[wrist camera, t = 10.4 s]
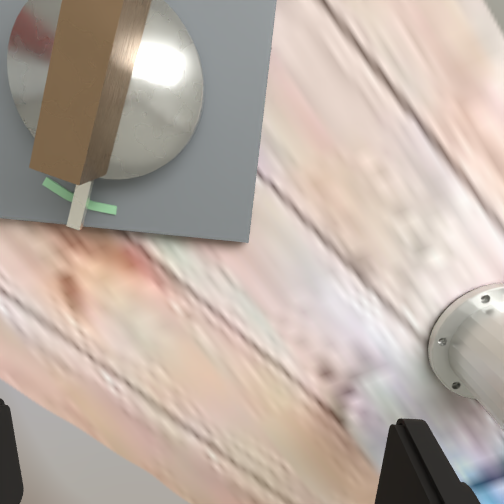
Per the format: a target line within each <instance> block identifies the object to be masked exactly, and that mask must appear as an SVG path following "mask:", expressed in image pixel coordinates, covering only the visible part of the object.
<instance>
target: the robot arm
mask: <svg viewBox="0 0 504 504" xmlns="http://www.w3.org/2000/svg"><path fill="white" fill-rule="evenodd" d="M428 355H429V361H430V365H431V368H432V370H433V371H434V373H435V374H436V376H437V377H438V379H439V380H440V381H441V382H442V383H443V385H444V386H445V387H447V388H448V389H449V390H450V391H452V392H454V393H456V394H458V395H460V396H463V397H467V398H470V399H477V400H478V402H479V403H480V404H481V405H482V406H483V407H484V409H485V410H486V411H487V412H488V413H489V415H490V416H491V417H492V418H493V419H494V420H495V422H496V423H497V424H498V425H499V426H500V427H501V429H502V430H503V431H504V283H494V284H490V285H486V286H482V287H479V288H477V289H475V290H473V291H470V292H468V293H467V294H465V295H463V296H462V297H460V298H459V299H457V300H456V301H455V302H454V303H452V304H451V305H450V306H449V307H448V308H447V309H446V310H445V311H444V313H443V314H442V315H441V316H440V317H439V319H438V321H437V322H436V324H435V326H434V328H433V330H432V333H431V336H430V339H429V346H428ZM22 496H23V482H22V477H21V470H20V465H19V459H18V453H17V447H16V441H15V435H14V429H13V424H12V417H11V412H10V408H9V406H8V405H5V404H4V401H3V400H2V399H0V504H19V503H20V502H21V499H22ZM375 504H480V502H479V500H478V498H477V497H476V495H475V493H474V492H473V491H472V489H471V488H470V487H469V486H468V485H467V484H466V483H464V482H460V480H459V478H458V477H457V475H456V473H455V472H454V470H453V468H452V466H451V465H450V463H449V461H448V459H447V458H446V456H445V454H444V452H443V451H442V449H441V447H440V446H439V444H438V442H437V440H436V439H435V437H434V435H433V433H432V432H431V430H430V428H429V426H428V425H427V423H426V422H425V421H424V420H420V419H398V421H397V423H396V425H393V424H392V425H391V426H390V428H389V433H388V438H387V443H386V448H385V453H384V458H383V463H382V469H381V474H380V479H379V484H378V489H377V494H376V499H375Z"/></svg>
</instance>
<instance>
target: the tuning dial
mask: <svg viewBox="0 0 504 504" xmlns="http://www.w3.org/2000/svg"><path fill="white" fill-rule="evenodd" d="M7 73H8V80H9V86H10V90H11V93H12V97H13V100H14V103H15V105H16V108H17V110H18V113H19V114H20V116H21V118H22V120H23V122H24V124H25V125H26V127H27V128H28V130H29V131H30V133H31V134H32V135H33V137H34V138H35V140H34V145H33V150H32V155H31V160H30V165H29V168H31V169H34V170H36V171H39V172H42V173H45V174H48V175H51V176H53V177H56V178H59V179H62V180H65V181H68V182H70V183H73V184H76V188H75V192H74V196H73V200H72V204H71V209H70V213H69V217H68V221H67V226H68V227H71V228H74V229H76V230H81V229H82V228H83V224H84V220H85V216H86V212H87V208H88V204H89V200H90V196H91V192H92V188H93V184H94V179H97V178H104V179H118V180H120V179H130V178H135V177H139V176H143V175H145V174H148V173H151V172H153V171H155V170H157V169H158V168H160V167H162V166H164V165H165V164H167V163H169V162H170V161H171V160H172V159H174V158H175V157H176V156H177V155H178V154H179V153H180V152H181V151H182V150H183V149H184V148H185V147H186V145H187V144H188V143H189V141H190V140H191V138H192V136H193V135H194V133H195V131H196V129H197V126H198V124H199V121H200V118H201V114H202V110H203V104H204V96H205V84H204V75H203V69H202V65H201V61H200V57H199V54H198V52H197V49H196V46H195V44H194V42H193V40H192V38H191V36H190V34H189V33H188V31H187V29H186V28H185V26H184V24H183V23H182V22H181V20H180V19H179V17H178V16H177V14H176V13H175V12H174V11H173V10H172V8H171V7H170V6H169V5H168V4H167V3H166V2H165V1H164V0H28V1H27V2H26V4H25V5H24V6H23V8H22V9H21V11H20V13H19V15H18V16H17V18H16V21H15V23H14V26H13V28H12V31H11V35H10V39H9V43H8V52H7Z"/></svg>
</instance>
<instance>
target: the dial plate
mask: <svg viewBox="0 0 504 504" xmlns="http://www.w3.org/2000/svg"><path fill="white" fill-rule="evenodd" d="M27 1H28V0H0V218H5V219H15V220H25V221H35V222H45V223H55V224H65V225H67V221H68V217H69V213H70V209H71V204H72V200H73V196H74V192H75V188H76V184H73V183H70V182H68V181H65V180H62V179H59V178H56V177H53V176H51V175H48V174H45V173H42V172H39V171H36V170H34V169H31V168H29V165H30V160H31V155H32V150H33V145H34V140H35V138H34V137H33V135H32V134H31V133H30V131H29V130H28V128H27V127H26V125H25V124H24V122H23V120H22V118H21V116H20V114H19V113H18V110H17V108H16V105H15V103H14V100H13V97H12V93H11V90H10V86H9V80H8V73H7V52H8V43H9V39H10V35H11V31H12V28H13V26H14V23H15V21H16V18H17V16H18V15H19V13H20V11H21V9H22V8H23V6H24V5H25V4H26V2H27ZM164 1H165V2H166V3H167V4H168V5H169V6H170V7H171V8H172V10H173V11H174V12H175V13H176V14H177V16H178V17H179V19H180V20H181V22H182V23H183V24H184V26H185V28H186V29H187V31H188V33H189V34H190V36H191V38H192V40H193V42H194V44H195V46H196V49H197V52H198V54H199V57H200V61H201V65H202V69H203V75H204V84H205V96H204V104H203V110H202V114H201V118H200V121H199V124H198V126H197V129H196V131H195V133H194V135H193V136H192V138H191V140H190V141H189V143H188V144H187V145H186V147H185V148H184V149H183V150H182V151H181V152H180V153H179V154H178V155H177V156H176V157H175V158H174V159H172V160H171V161H170V162H169V163H167V164H165V165H164V166H162V167H160V168H158V169H157V170H155V171H153V172H151V173H148V174H145V175H143V176H139V177H135V178H130V179H120V180H118V179H104V178H97V179H94V184H93V188H92V192H91V196H90V200H89V204H88V208H87V212H86V216H85V220H84V224H83V226H85V227H95V228H106V229H116V230H126V231H136V232H146V233H156V234H166V235H176V236H186V237H196V238H206V239H216V240H226V241H236V242H246V243H248V242H249V234H250V225H251V217H252V208H253V199H254V191H255V182H256V173H257V165H258V156H259V148H260V139H261V130H262V122H263V113H264V104H265V96H266V87H267V79H268V70H269V61H270V53H271V44H272V35H273V27H274V18H275V10H276V1H277V0H164Z"/></svg>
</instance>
